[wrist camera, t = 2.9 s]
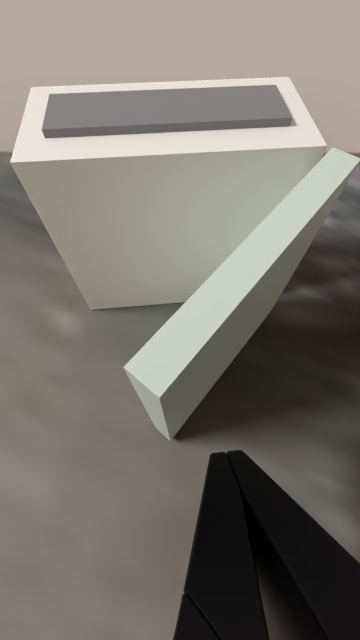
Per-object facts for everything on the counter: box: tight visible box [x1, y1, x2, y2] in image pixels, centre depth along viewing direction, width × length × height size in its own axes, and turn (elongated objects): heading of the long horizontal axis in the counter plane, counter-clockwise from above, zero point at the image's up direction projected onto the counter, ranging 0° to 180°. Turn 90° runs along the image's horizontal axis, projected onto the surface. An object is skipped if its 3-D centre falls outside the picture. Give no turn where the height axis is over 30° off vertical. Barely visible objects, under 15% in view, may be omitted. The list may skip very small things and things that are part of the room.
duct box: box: [10, 77, 327, 310], centre depth 15 cm, size 5×11×10 cm, turn 96°
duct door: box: [124, 147, 360, 441], centre depth 12 cm, size 1×10×10 cm, turn 140°
